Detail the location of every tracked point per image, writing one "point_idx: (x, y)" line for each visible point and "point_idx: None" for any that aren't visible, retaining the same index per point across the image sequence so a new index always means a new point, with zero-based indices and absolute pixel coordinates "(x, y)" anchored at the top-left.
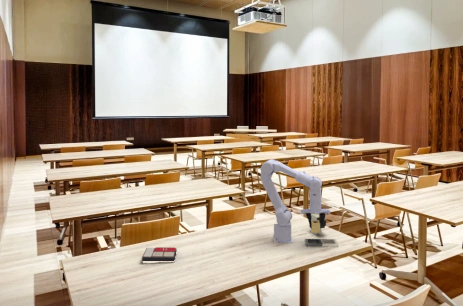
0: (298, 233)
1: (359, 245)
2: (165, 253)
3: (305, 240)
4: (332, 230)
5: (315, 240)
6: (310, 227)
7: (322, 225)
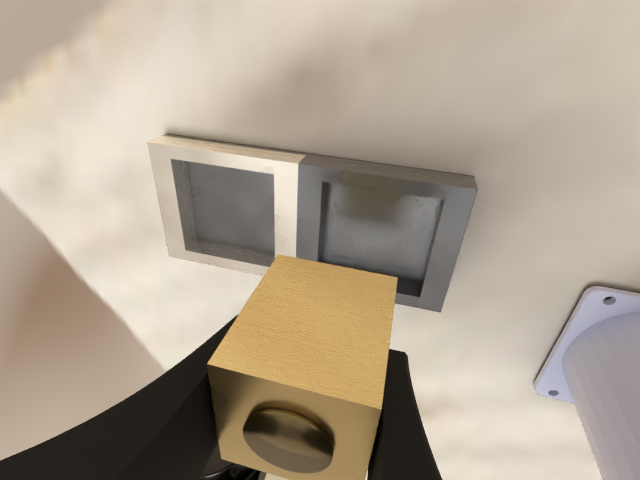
0: (432, 425)
1: (17, 153)
2: None
3: (449, 276)
4: None
5: None
6: (400, 356)
7: None
